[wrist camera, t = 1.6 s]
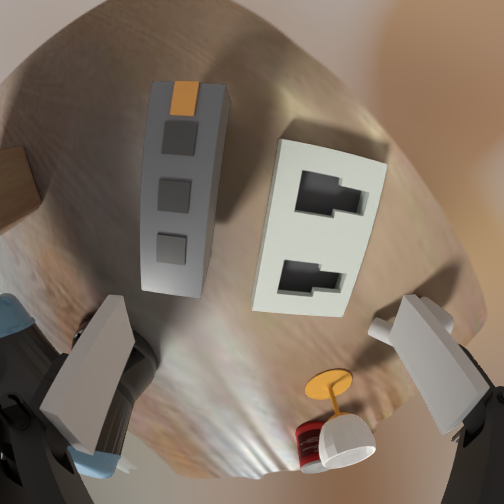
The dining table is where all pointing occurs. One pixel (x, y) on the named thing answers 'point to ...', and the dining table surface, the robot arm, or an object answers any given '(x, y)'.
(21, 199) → the wooden block
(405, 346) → the robot arm
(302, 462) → the canned food
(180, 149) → the grey slotted block
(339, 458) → the cup
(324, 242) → the keyhole board
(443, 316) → the wall hook
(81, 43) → the dining table surface
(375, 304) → the dining table surface
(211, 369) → the dining table surface
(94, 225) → the dining table surface
